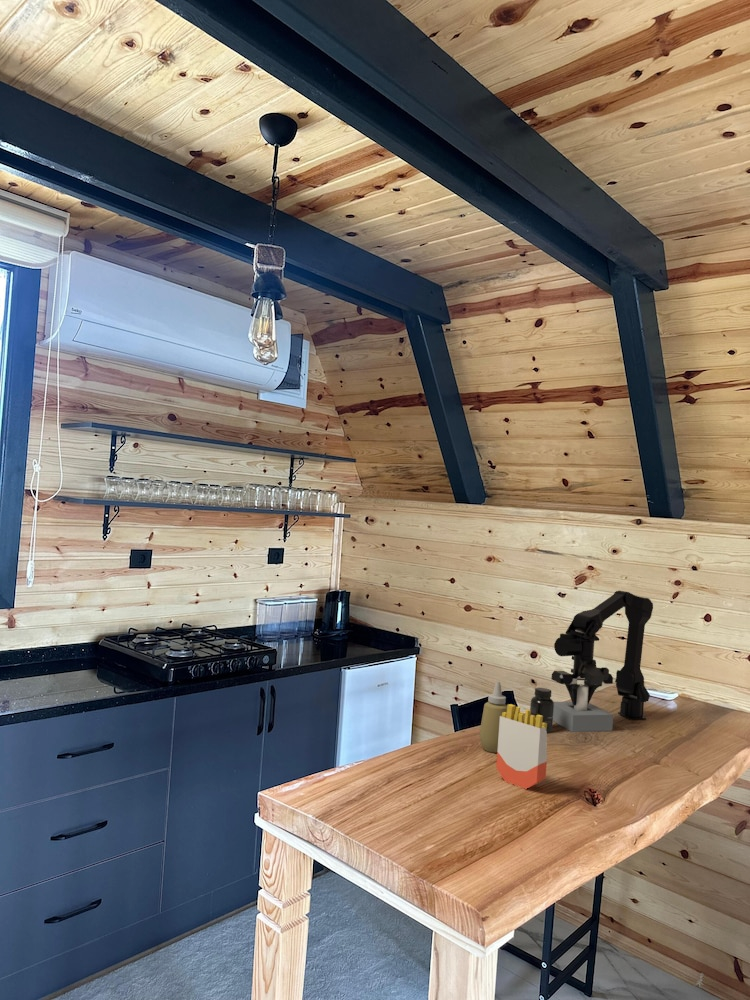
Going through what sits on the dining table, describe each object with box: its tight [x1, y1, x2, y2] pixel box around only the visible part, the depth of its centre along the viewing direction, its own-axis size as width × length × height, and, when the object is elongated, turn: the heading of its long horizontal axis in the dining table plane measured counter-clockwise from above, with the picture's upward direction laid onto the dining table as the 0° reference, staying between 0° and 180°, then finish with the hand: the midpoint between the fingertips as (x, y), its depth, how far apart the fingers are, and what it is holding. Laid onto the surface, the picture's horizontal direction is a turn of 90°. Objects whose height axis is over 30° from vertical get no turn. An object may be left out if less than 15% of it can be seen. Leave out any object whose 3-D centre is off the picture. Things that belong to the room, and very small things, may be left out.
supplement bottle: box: [529, 687, 555, 734], centre depth 204 cm, size 7×7×12 cm
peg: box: [574, 683, 589, 711], centre depth 212 cm, size 4×4×10 cm
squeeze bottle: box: [479, 681, 508, 754], centre depth 183 cm, size 8×8×18 cm
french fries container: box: [495, 703, 548, 790], centre depth 160 cm, size 5×11×18 cm, turn 47°
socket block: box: [553, 701, 614, 733], centre depth 212 cm, size 14×14×5 cm
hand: (580, 704), depth 212 cm, fingers closed on peg, 4 cm apart
